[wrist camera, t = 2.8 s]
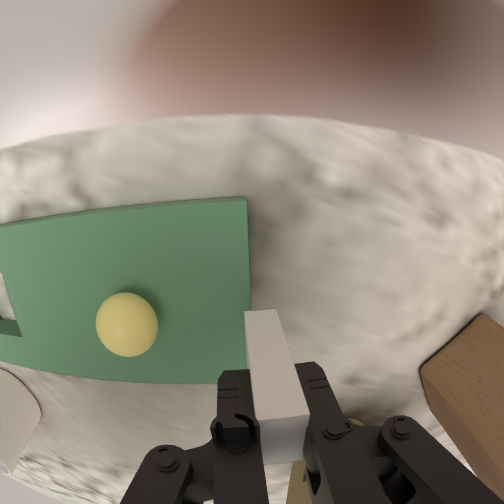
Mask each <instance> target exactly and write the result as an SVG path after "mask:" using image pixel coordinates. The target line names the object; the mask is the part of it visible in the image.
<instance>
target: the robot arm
mask: <svg viewBox="0 0 504 504" xmlns="http://www.w3.org/2000/svg"><path fill="white" fill-rule="evenodd" d="M244 319H245V337H246V355H247V366H248V369H240V370H224V371H223V372H222V374H221V375H220V377H219V378H218V392H217V417H216V418H215V419H214V420H213V421H212V423H211V427H210V430H211V434H212V439H211V440H210V441H209V442H208V443H206V444H205V445H203V446H200V447H197V448H193V449H189V450H183V449H182V448H179V447H177V446H175V445H161V446H157V447H155V448H153V449H151V450H150V451H149V452H148V454H147V455H146V456H145V458H144V460H143V462H142V463H141V465H140V467H139V469H138V471H137V473H136V474H135V476H134V478H133V480H132V482H131V484H130V486H129V487H128V489H127V491H126V493H125V495H124V497H123V498H122V500H121V502H120V504H203V503H204V501H208V500H212V499H214V504H269V500H268V493H267V486H266V479H265V472H264V465H266V464H276V463H284V462H292V461H298V460H302V457H303V455H304V459H305V463H306V465H305V469H304V473H303V482H304V481H306V480H307V484H308V488H309V492H310V496H311V500H312V504H504V501H503V500H502V499H500V498H499V497H498V496H497V495H496V494H495V493H494V492H493V491H492V490H490V489H489V488H488V487H487V486H486V485H485V484H484V483H483V482H482V481H480V480H479V479H478V478H477V477H476V476H475V475H474V474H473V473H472V472H471V471H470V470H468V469H467V468H466V467H465V466H464V465H463V464H462V463H461V462H460V461H459V460H458V459H456V458H455V457H454V456H453V455H452V454H451V453H450V452H449V451H448V450H447V449H446V448H444V447H443V446H442V445H441V444H440V443H439V442H438V441H437V440H436V439H435V438H434V437H433V436H432V435H430V434H429V433H428V432H427V431H426V430H425V429H424V428H423V427H422V426H421V425H420V424H419V423H418V422H416V421H415V420H414V419H412V418H411V417H407V416H404V415H401V416H394V417H391V418H389V419H388V420H386V421H385V422H384V424H383V426H361V425H357V424H354V423H353V422H352V421H351V420H349V419H348V418H346V417H344V415H343V414H342V412H341V409H340V407H339V405H338V402H337V400H336V398H335V396H334V393H333V391H332V389H331V387H330V384H329V382H328V380H327V377H326V375H325V373H324V371H323V369H322V368H321V367H320V366H319V365H318V364H316V363H315V362H306V363H298V364H294V362H293V359H292V356H291V353H290V350H289V347H288V344H287V341H286V338H285V335H284V332H283V329H282V325H281V322H280V319H279V316H278V313H277V310H276V309H268V310H254V311H244Z"/></svg>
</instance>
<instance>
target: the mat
mask: <svg viewBox="0 0 504 504" xmlns="http://www.w3.org/2000/svg"><path fill="white" fill-rule="evenodd" d="M0 273H2V275H3V279H4V282H5V286H6V289H7V293H8V296H9V299H10V303H11V306H12V309H13V312H14V315H15V318H16V320H17V321H12V320H4V319H1V317H0V361H2V362H6V363H10V364H14V365H18V366H22V367H27V368H31V369H36V370H41V371H46V372H52V373H58V374H64V375H70V376H77V377H84V378H92V379H101V380H111V381H123V382H138V383H161V384H209V383H218V378H219V377H220V375H221V374H222V372H223V371H224V370H240V369H248V366H247V355H246V337H245V319H244V311H251V297H250V272H249V247H248V222H247V201H246V199H245V197H228V198H211V199H196V200H183V201H171V202H159V203H148V204H138V205H129V206H120V207H111V208H103V209H95V210H87V211H80V212H73V213H66V214H59V215H53V216H46V217H40V218H34V219H28V220H23V221H17V222H12V223H6V224H1V225H0ZM123 292H126V293H133V294H136V295H139V296H140V297H142V298H144V299H145V300H146V301H147V302H148V303H149V304H150V305H151V306H152V308H153V310H154V311H155V314H156V316H157V320H158V333H157V337H156V339H155V341H154V343H153V345H152V346H151V347H150V348H149V349H148V350H147V351H146V352H144V353H142V354H140V355H138V356H133V357H124V356H120V355H117V354H115V353H113V352H111V351H110V350H108V349H107V348H106V347H105V346H104V344H103V343H102V342H101V340H100V338H99V336H98V334H97V330H96V316H97V312H98V310H99V308H100V306H101V305H102V303H103V302H104V301H105V300H106V299H107V298H109V297H110V296H112V295H114V294H118V293H123Z"/></svg>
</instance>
